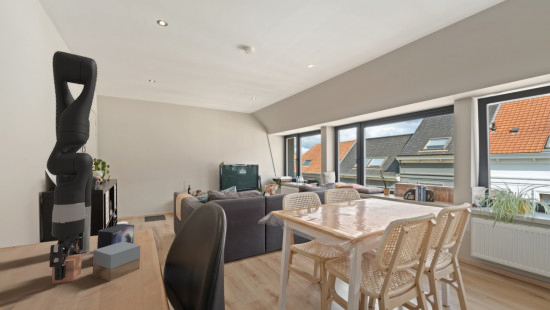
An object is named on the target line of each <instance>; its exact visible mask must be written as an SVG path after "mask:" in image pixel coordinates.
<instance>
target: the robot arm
mask: <svg viewBox="0 0 550 310" xmlns="http://www.w3.org/2000/svg"><path fill="white" fill-rule="evenodd" d="M52 75H53V84H54V93H55V96H54V97H55V137H56V142H55V144H54V147H53V148H52V150H51V152H50V153H49V154H50V155H49V156H48V159H47V160H46V169H47V171H48V173H50V174H51V175H52V176H55V185H56V186H55V187H54V192H53V193H54V194H53V207H52V214H51V217H52V218H51V236H52V237H54V238H57V244H52V245H50V250H49V251H50V252H49V268H51V269H52V267H55V276H54V279H55V280H62V279H64V278H65V273H66V261H67V258H69V257H70V255H78V254H83V253H84V254H85V253H86V252H88V251H89V250H90V248H91V247H90V244H91V242H90V241H91V218H92V217H91V216H92V215H91V214H92V187H93V177H94V173H93V172H94V171H93V166H94V160H93V157H92V155H90V154H89V152H88V153H87V152H79V150H81V149H82V148H83V146H85V145H86V144H87V142H88V141H89V139H90V128H91V127H90V126H91V125H90V123H91V122H90V114H91V110H92V105H93V102H94V98H95V97H94V96H95V92H96V87H97V81H98V65H97V62H96V60H95V59H94V58H91V57H87V56H85V55H84V56H82V55H80V54H75V53H70V52H67V51H61V50H56V51H55V52H54V54H53V56H52ZM68 83H70V84H76V85H83V87H82V91H80V94H79V95H78V96H77V97H76V98H74V96H73V94H72V92H71V90H70V87H69V84H68ZM63 258H64V259H63ZM58 261H59V262H58Z"/></svg>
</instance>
